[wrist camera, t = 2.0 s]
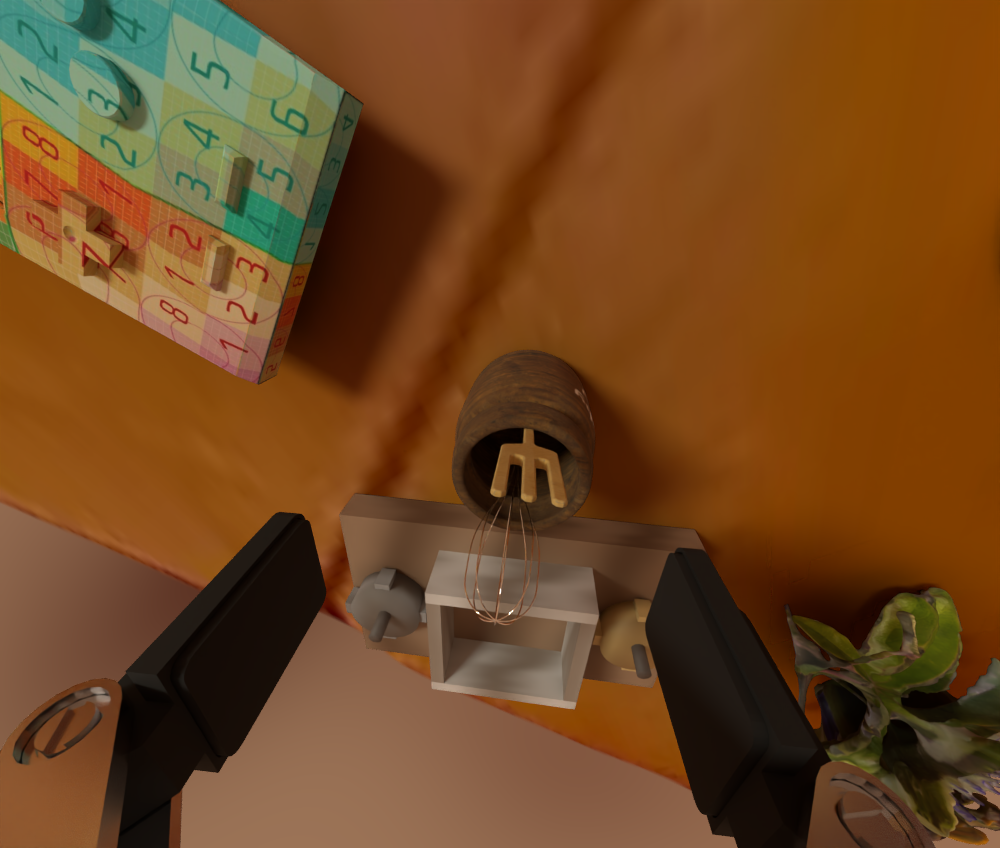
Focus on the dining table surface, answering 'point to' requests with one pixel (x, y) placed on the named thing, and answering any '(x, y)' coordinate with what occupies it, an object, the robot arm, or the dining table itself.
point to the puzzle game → (170, 166)
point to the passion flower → (909, 711)
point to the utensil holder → (523, 451)
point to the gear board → (507, 597)
